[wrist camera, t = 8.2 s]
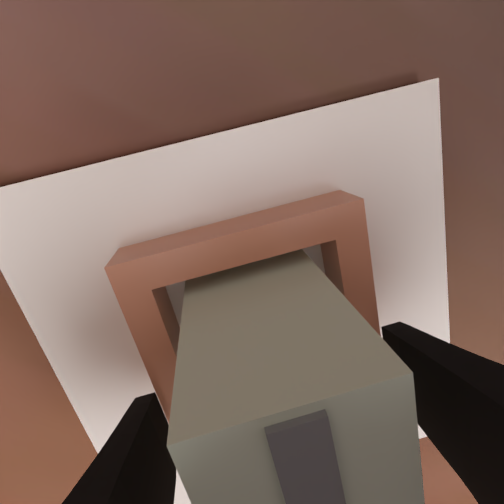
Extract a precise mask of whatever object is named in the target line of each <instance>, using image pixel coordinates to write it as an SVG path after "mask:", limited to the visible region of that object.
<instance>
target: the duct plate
mask: <svg viewBox="0 0 504 504" xmlns="http://www.w3.org/2000/svg"><path fill="white" fill-rule="evenodd" d="M300 249H302V250H303V251H304V252H305V253H306V254H307V255H308V256H309V257H310V259H311V260H312V261H313V262H314V263H315V264H316V265H317V266H318V267H319V269H320V270H321V271H322V272H323V273H324V274H325V275H326V276H327V277H328V279H329V280H330V281H331V282H332V283H333V284H334V285H335V286H336V287H337V289H338V290H339V291H340V292H341V293H342V294H343V295H344V296H345V297H346V299H347V300H348V301H349V302H350V303H351V304H352V305H353V306H354V307H355V309H356V310H357V311H358V312H359V313H360V314H361V315H362V316H363V317H364V319H365V320H366V321H367V322H368V323H369V324H370V325H371V326H372V327H373V329H374V330H375V331H376V332H377V333H378V334H379V335H380V336H381V337H382V339H383V336H382V328H381V327H382V326H386V325H389V324H393V323H396V322H403V323H405V324H407V325H410V326H412V327H414V328H417V329H419V330H421V331H423V332H425V333H428V334H430V335H432V336H434V337H437V338H439V339H441V340H443V341H446V342H448V343H450V331H449V308H448V284H447V260H446V237H445V213H444V189H443V166H442V142H441V118H440V95H439V78H436V79H432V80H428V81H424V82H420V83H416V84H411V85H407V86H403V87H399V88H395V89H391V90H387V91H383V92H379V93H375V94H371V95H367V96H363V97H359V98H355V99H351V100H347V101H343V102H339V103H335V104H331V105H327V106H323V107H319V108H315V109H311V110H307V111H303V112H299V113H295V114H291V115H287V116H283V117H279V118H275V119H271V120H267V121H263V122H259V123H255V124H251V125H247V126H243V127H239V128H235V129H231V130H227V131H223V132H219V133H215V134H211V135H207V136H203V137H199V138H195V139H191V140H187V141H183V142H179V143H175V144H171V145H167V146H163V147H159V148H155V149H151V150H147V151H143V152H139V153H135V154H131V155H127V156H123V157H119V158H115V159H111V160H107V161H103V162H99V163H95V164H91V165H87V166H83V167H79V168H75V169H71V170H67V171H63V172H59V173H55V174H51V175H47V176H43V177H39V178H35V179H31V180H27V181H23V182H19V183H15V184H11V185H7V186H3V187H0V270H1V272H2V274H3V275H4V277H5V279H6V281H7V283H8V285H9V287H10V289H11V291H12V292H13V294H14V296H15V298H16V300H17V302H18V304H19V306H20V308H21V309H22V311H23V313H24V315H25V317H26V319H27V321H28V323H29V325H30V326H31V328H32V330H33V332H34V334H35V336H36V338H37V340H38V342H39V343H40V345H41V347H42V349H43V351H44V353H45V355H46V357H47V359H48V360H49V362H50V364H51V366H52V368H53V370H54V372H55V374H56V376H57V378H58V379H59V381H60V383H61V385H62V387H63V389H64V391H65V393H66V395H67V396H68V398H69V400H70V402H71V404H72V406H73V408H74V410H75V412H76V413H77V415H78V417H79V419H80V421H81V423H82V425H83V427H84V429H85V430H86V432H87V434H88V436H89V438H90V440H91V442H92V444H93V446H94V447H95V449H96V451H97V453H99V452H100V450H101V449H102V447H103V446H104V444H105V443H106V441H107V440H108V438H109V437H110V435H111V434H112V432H113V431H114V429H115V428H116V426H117V425H118V423H119V422H120V420H121V419H122V417H123V416H124V414H125V412H126V411H127V409H128V408H129V406H130V405H131V403H132V402H133V400H134V399H135V398H136V397H140V396H143V395H147V394H150V393H154V392H155V393H156V395H157V398H158V400H159V403H160V405H161V407H162V410H163V412H164V415H165V417H166V419H167V422H168V424H169V420H170V411H171V402H172V394H173V385H174V376H175V367H176V359H177V350H178V341H179V333H180V324H181V315H182V307H183V298H184V289H185V281H186V280H189V279H193V278H197V277H200V276H204V275H208V274H211V273H215V272H219V271H222V270H226V269H230V268H233V267H237V266H241V265H245V264H248V263H252V262H256V261H259V260H263V259H267V258H270V257H274V256H278V255H281V254H285V253H289V252H292V251H296V250H300ZM418 434H419V439H420V438H423V437H426V436H427V435H426V434H425V433H424V431H423V430H422V429H421V427H420V426H419V425H418ZM174 504H191V502H190V499H189V497H188V495H187V492H186V490H185V488H184V485H183V483H182V481H181V478H180V476H179V474H178V471H177V469H176V486H175V496H174Z"/></svg>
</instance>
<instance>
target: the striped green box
mask: <svg viewBox="0 0 504 504" xmlns="http://www.w3.org/2000/svg"><path fill="white" fill-rule="evenodd" d="M167 448H168V451H169V453H170V455H171V458H172V460H173V462H174V464H175V467H176V469H177V471H178V474H179V476H180V478H181V481H182V483H183V485H184V488H185V490H186V492H187V495H188V497H189V499H190V502H191V504H425V502H424V490H423V479H422V468H421V457H420V445H419V434H418V423H417V412H416V400H415V389H414V378H413V372H412V371H411V370H410V369H409V367H408V366H407V365H406V364H405V363H404V362H403V361H402V360H401V359H400V357H399V356H398V355H397V354H396V353H395V352H394V351H393V350H392V349H391V347H390V346H389V345H388V344H387V343H386V342H385V341H384V340H383V339H382V337H381V336H380V335H379V334H378V333H377V332H376V331H375V330H374V329H373V327H372V326H371V325H370V324H369V323H368V322H367V321H366V320H365V319H364V317H363V316H362V315H361V314H360V313H359V312H358V311H357V310H356V309H355V307H354V306H353V305H352V304H351V303H350V302H349V301H348V300H347V299H346V297H345V296H344V295H343V294H342V293H341V292H340V291H339V290H338V289H337V287H336V286H335V285H334V284H333V283H332V282H331V281H330V280H329V279H328V277H327V276H326V275H325V274H324V273H323V272H322V271H321V270H320V269H319V267H318V266H317V265H316V264H315V263H314V262H313V261H312V260H311V259H310V257H309V256H308V255H307V254H306V253H305V252H304V251H303V250H302V249H300V250H296V251H292V252H289V253H285V254H281V255H278V256H274V257H270V258H267V259H263V260H259V261H256V262H252V263H248V264H245V265H241V266H237V267H233V268H230V269H226V270H222V271H219V272H215V273H211V274H208V275H204V276H200V277H197V278H193V279H189V280H186V281H185V289H184V298H183V307H182V315H181V324H180V333H179V341H178V350H177V359H176V367H175V376H174V385H173V394H172V402H171V411H170V420H169V428H168V437H167Z"/></svg>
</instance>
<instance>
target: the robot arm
mask: <svg viewBox="0 0 504 504" xmlns="http://www.w3.org/2000/svg"><path fill="white" fill-rule="evenodd" d="M381 328H382V336H383V340H384V341H385V342H386V343H387V344H388V345H389V346H390V347H391V349H392V350H393V351H394V352H395V353H396V354H397V355H398V356H399V357H400V359H401V360H402V361H403V362H404V363H405V364H406V365H407V366H408V367H409V369H410V370H411V371H412V372H413V378H414V389H415V400H416V412H417V423H418V425H419V426H420V427H421V429H422V430H423V431H424V433H425V434H426V435H427V436H428V438H429V439H430V440H431V441H432V443H433V444H434V445H435V446H436V448H437V449H438V450H439V452H440V453H441V454H442V455H443V457H444V458H445V459H446V460H447V462H448V463H449V464H450V465H451V467H452V468H453V469H454V470H455V472H456V473H457V474H458V476H459V477H460V478H461V480H462V481H463V482H464V484H465V485H466V486H467V488H468V489H469V490H470V492H471V493H472V495H473V496H474V498H475V499H476V501H477V502H478V504H504V365H502V364H500V363H497V362H494V361H492V360H489V359H486V358H484V357H481V356H479V355H476V354H474V353H471V352H469V351H466V350H464V349H462V348H459V347H457V346H455V345H452V344H450V343H448V342H446V341H443V340H441V339H439V338H437V337H434V336H432V335H430V334H428V333H425V332H423V331H421V330H419V329H417V328H414V327H412V326H410V325H407V324H405V323H403V322H396V323H393V324H389V325H386V326H382V327H381ZM168 428H169V424H168V422H167V419H166V417H165V415H164V412H163V410H162V407H161V405H160V403H159V400H158V398H157V395H156V393H155V392H154V393H150V394H147V395H143V396H140V397H136V398H135V399H134V400H133V402H132V403H131V405H130V406H129V408H128V409H127V411H126V412H125V414H124V416H123V417H122V419H121V420H120V422H119V423H118V425H117V426H116V428H115V429H114V431H113V432H112V434H111V435H110V437H109V438H108V440H107V441H106V443H105V444H104V446H103V447H102V449H101V450H100V452H99V453H98V455H97V456H96V458H95V459H94V461H93V462H92V463H91V465H90V466H89V468H88V469H87V470H86V472H85V473H84V474H83V476H82V477H81V479H80V480H79V481H78V483H77V484H76V485H75V487H74V488H73V489H72V491H71V492H70V494H69V495H68V496H67V498H66V499H65V500H64V502H63V503H62V504H174V496H175V486H176V467H175V464H174V462H173V460H172V458H171V455H170V453H169V451H168V448H167V437H168Z"/></svg>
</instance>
